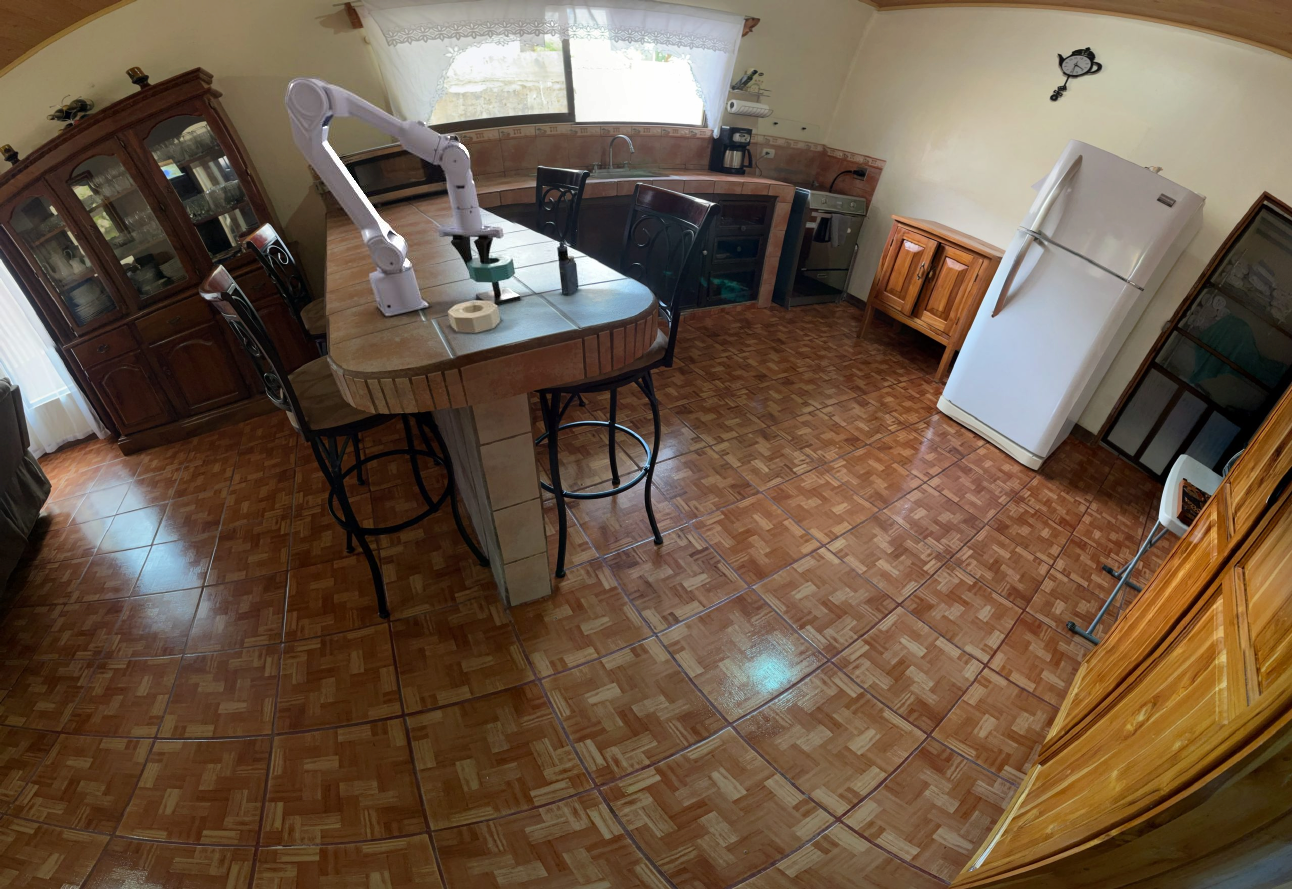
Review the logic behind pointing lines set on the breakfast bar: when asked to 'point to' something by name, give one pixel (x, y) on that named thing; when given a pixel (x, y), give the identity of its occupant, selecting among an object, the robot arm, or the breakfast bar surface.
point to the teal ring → (491, 269)
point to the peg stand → (498, 295)
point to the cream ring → (474, 316)
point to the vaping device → (567, 271)
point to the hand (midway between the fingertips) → (478, 269)
